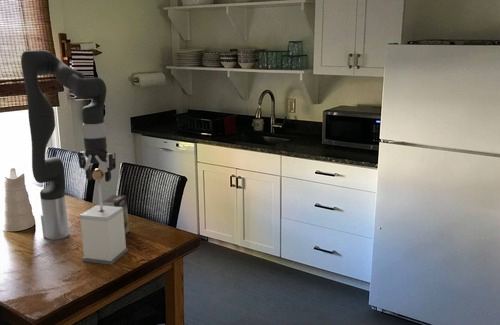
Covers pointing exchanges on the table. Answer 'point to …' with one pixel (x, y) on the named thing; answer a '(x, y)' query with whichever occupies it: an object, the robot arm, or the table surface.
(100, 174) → the plunger
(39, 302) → the table surface
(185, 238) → the table surface
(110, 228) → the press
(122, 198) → the coffee box
